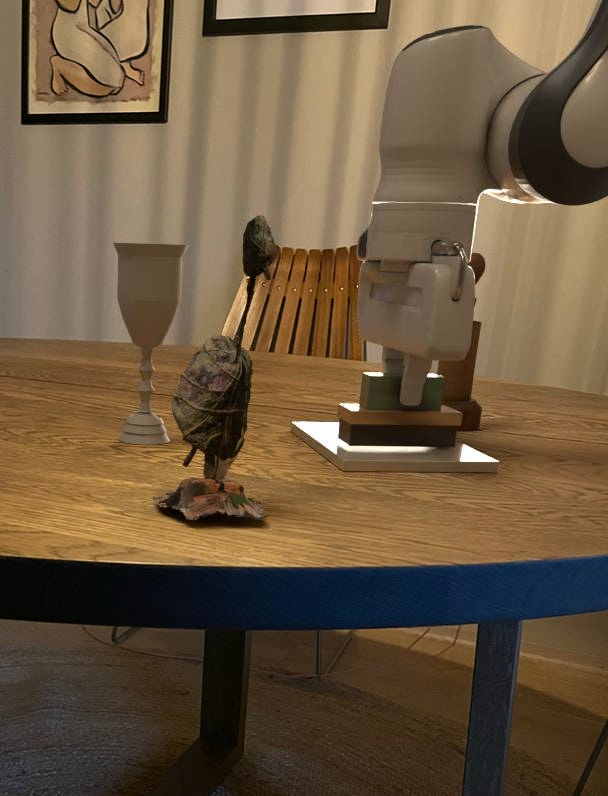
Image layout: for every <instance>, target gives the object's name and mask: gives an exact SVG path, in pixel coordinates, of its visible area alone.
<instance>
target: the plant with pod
mask: <svg viewBox="0 0 608 796" xmlns="http://www.w3.org/2000/svg"><path fill="white" fill-rule="evenodd" d="M267 221H268V220H267V217H265V216H264V215H263V214H259V215H256V216H255V217H253V218H252V219H251V220H248V222H247V223H246V226H245V229H244V232H243V235H242V259H241V262H242V268H243V270H242V272H243V273H244V275H245V277H248V279H247V285H246V288H245V290H246V295H247V296H246V303H245V307H244V311H243V315H242V318H241V322H240V323H241V324H240V329H239V334H238V335H236V334H234V336H235V338H238V340H237V341H236V340H234V339H232V338H231V337H230V336H228V335H224V334H223V335H222V334H219V335H217V334H216V335H212V336H210V337H209V338H208V339H207V340H205V342H204V343H203V344H202V346H200V347H199V348H198V349H197V351H196V352H195V353H194V354H193V357H192V359H191V360H190V361H189V363H188V364H187V366H186V369H185V370H184V371H183V372H182V373H181V374H180V377H179V379H178V380H177V382H176V384H175V387H174V391H173V393H172V394H171V395H172V397H171V399H172V400H171V412H172V416H173V418H174V421H175V422H176V425H177V427H178V430H179V431H180V432H181V434H182V438H181V439H182V441H185V442H186V443H189V444H190V445H191V449H190V451H189V452H188V454H187V455H186V456H185V457H184V458H183V461H182V462H183V463H182V464H181V466H182V467H184V468H188V467H189V465H190V464H191V462H192V460H193V459H194V457H195V455H196V454H197V450H198V451H200V452H202V453H203V454H204V457H203V461H204V464H203V470H202V473H203V478H201V477H200V478H198V477H190V478H184V479H183V480H182V481H181V482H180V483H179V485H178V487H177V488H176V490H175V491H170V492H165V494H164V495H162V496H156V497H155V496H152V501H154V503H155V504H156V505H157V506H159V507H160V508H162V507H163V508H166V509H167V508H170V507H171V509H174V510H179V511H180V512H181V513H182V514H183V515H184V516H185V519H187V520H191V521H196V520H200V517H202V518H203V517H204V518H206V517H209V516H210V515H213V514H216V513H220V514H222V515H225V513H226V514H227V515H228V516H233V515H235V516H236V517H237V518H240V517H243V518H246V517H249V518H252V519H254V520H261V521H262V520H264V519H266V518H269V515H268V514H267V513H265V510H264V506H265V505H264V504H262V503H261V501H257V499H254V497H247V496H246V493H245V487H244V484H243V483H241V482H239V481H237V480H234V479H229V478H226V475H227V473H228V472H229V469H230V468H231V466H232V465H233V463H234V462H235V460H236V459H237V457H238V455H239V453H240V452H241V449H242V448H243V446H244V443H245V433H246V432H247V430H248V410H249V403H250V401H251V394H252V393H251V392H252V391H251V388H252V375H253V374H254V370H253V360H252V359H251V355H250V353H249V351H248V350H246V348H245V347H243V346H242V343H243V339H244V335H245V326H246V324H247V320H248V319H247V317H248V313H249V311H250V308H251V301H252V296H253V292H254V289H255V286H256V280H257V277H258V276H260V275H262V274H263V275H264V278H265V279H266V281H270V280H272V275H271V273H270V266H271V265H272V264H273V262H274V261H275V260H276V257H277V244H276V242H275V237H274V236H273V235H272V228H271V227H270V226H269V225H268V222H267Z"/></svg>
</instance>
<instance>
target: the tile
mask: <svg viewBox="0 0 608 796" xmlns="http://www.w3.org/2000/svg"><path fill="white" fill-rule="evenodd" d="M338 427H339V422H328V421H327V422H325V421H324V422H322V421H321V422H320V421H319V422H318V421H316V422H315V421H291V422H290V432H291V433H292V434H294V436H296V437H298V438H299V439H300V440H301V441H303V442H304V443H305V444H307V445H308V446H309V447H310V448H312V449H313V450H315V451H316V452H317V453H318V454H320V455H321V456H323V457H324V459H326V460H328V461H329V462H330V463H331V464H333V465H334V466H335V467H337V468H338V469H339V470H341V472H370V473H371V472H376V473H377V472H378V473H379V472H381V473H383V472H384V473H386V472H387V473H402V472H403V473H475V474H476V473H482V474H483V473H484V474H485V473H486V474H487V473H490V474H493V473H495V474H497V473H498V472H499V467H500V461H499V460H496V459H494V458H493V457H491V456H488V455H486V454H484V453H482V452H480V451H478V450H476V449H474V448H472V447H470V446H468V445H466V444H463V443H462V442H460V441H457V440H456V442H455V447H391V446H349V445H347V444H346V443H344V442H343V441H341V440H340V439H338V438H337V437H338Z"/></svg>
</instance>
